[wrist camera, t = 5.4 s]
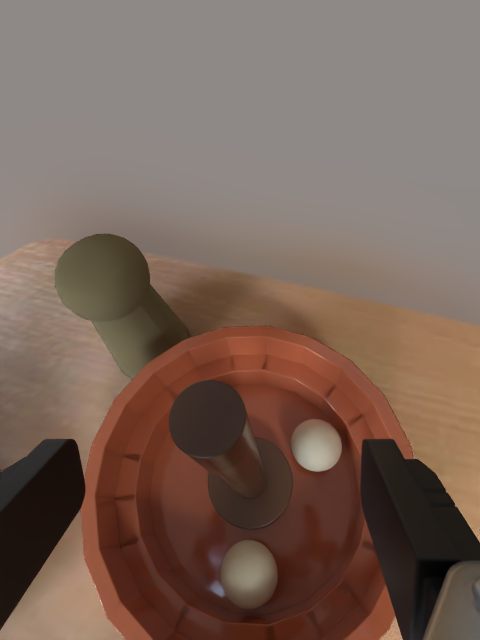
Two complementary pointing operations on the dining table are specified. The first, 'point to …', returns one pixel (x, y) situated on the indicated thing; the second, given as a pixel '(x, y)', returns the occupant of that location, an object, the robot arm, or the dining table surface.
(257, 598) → the dumpling
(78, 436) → the dining table surface
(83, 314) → the olive green peg doll
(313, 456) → the dumpling
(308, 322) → the dining table surface
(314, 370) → the bowl
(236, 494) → the brown peg stand
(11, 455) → the dining table surface
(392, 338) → the dining table surface
